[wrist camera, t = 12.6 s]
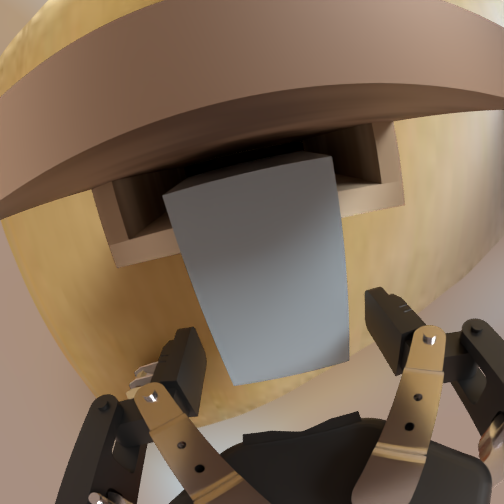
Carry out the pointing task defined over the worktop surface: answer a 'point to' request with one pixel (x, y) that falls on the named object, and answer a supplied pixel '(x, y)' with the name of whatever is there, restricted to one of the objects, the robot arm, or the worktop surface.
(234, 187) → the blue-grey block
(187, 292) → the worktop surface
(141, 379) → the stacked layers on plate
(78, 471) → the robot arm
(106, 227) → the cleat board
